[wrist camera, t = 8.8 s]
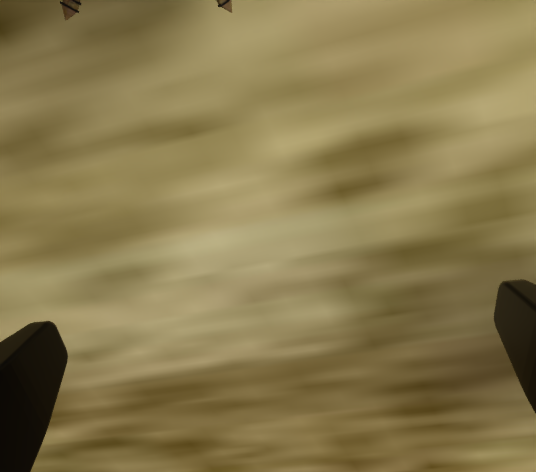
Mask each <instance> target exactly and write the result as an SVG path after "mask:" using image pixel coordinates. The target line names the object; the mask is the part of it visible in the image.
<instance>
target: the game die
mask: <svg viewBox="0 0 536 472" xmlns="http://www.w3.org/2000/svg"><path fill="white" fill-rule="evenodd" d="M217 2H218V4H219V5H218V7H222V8H224V9H226V10H228V11H229V12H231V13H232V4H231V0H217ZM60 3H61V4H62V8H63V12H64V16H65V20H68V19H69V18H70V17H72V16H73V15H74V14H75V13H79V11H78V8H79V5H81V3H80V0H63V2H61V1H60Z"/></svg>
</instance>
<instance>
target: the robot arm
mask: <svg viewBox="0 0 536 472" xmlns="http://www.w3.org/2000/svg"><path fill="white" fill-rule="evenodd" d="M494 322H495V326H496V329H497V331H498V333H499V335H500V338H501V340H502V342H503V345H504V347H505V349H506V352H507V354H508V356H509V359H510V361H511V363H512V366H513V368H514V370H515V372H516V375H517V377H518V379H519V382H520V384H521V386H522V388H523V390H524V393H525V395H526V397H527V399H528V400H529V402H530V404H531V406H532V408H533V410H534V411H535V413H536V285H535V284H533V283H531V282H529V281H526V280H510V281H503V282H502V283H501V284H500V285H499V288H498V294H497V300H496V306H495V312H494ZM67 359H68V354H67V350H66V347H65V345H64V343H63V341H62V338H61V336H60V334H59V332H58V329H57V327H56V325H55V324H54V323H53V322H50V321H44V322H34V323H30V324H28V325H27V326H25V327H24V328H22V329H20V330H19V331H17V332H16V333H14V334H13V335H11V336H9V337H8V338H6V339H5V340H3V341H2V342H0V472H30V471H31V469H32V467H33V464H34V462H35V459H36V457H37V454H38V452H39V449H40V447H41V444H42V442H43V439H44V437H45V434H46V431H47V428H48V425H49V422H50V419H51V416H52V412H53V409H54V405H55V402H56V399H57V395H58V392H59V388H60V385H61V382H62V378H63V375H64V371H65V368H66V364H67Z"/></svg>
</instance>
